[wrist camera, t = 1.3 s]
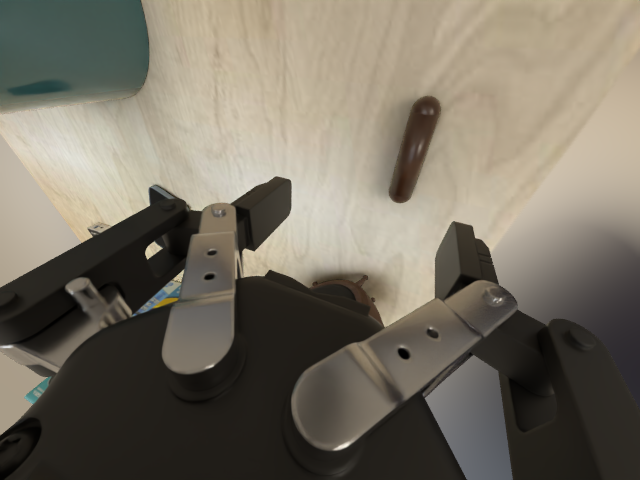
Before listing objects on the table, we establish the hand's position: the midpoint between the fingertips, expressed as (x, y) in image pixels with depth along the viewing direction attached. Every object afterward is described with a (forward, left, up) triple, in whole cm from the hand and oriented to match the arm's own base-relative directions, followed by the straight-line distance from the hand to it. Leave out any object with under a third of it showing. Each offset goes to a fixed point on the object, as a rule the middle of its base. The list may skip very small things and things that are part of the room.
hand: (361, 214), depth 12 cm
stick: (0, +1, -14) cm, 14 cm away
